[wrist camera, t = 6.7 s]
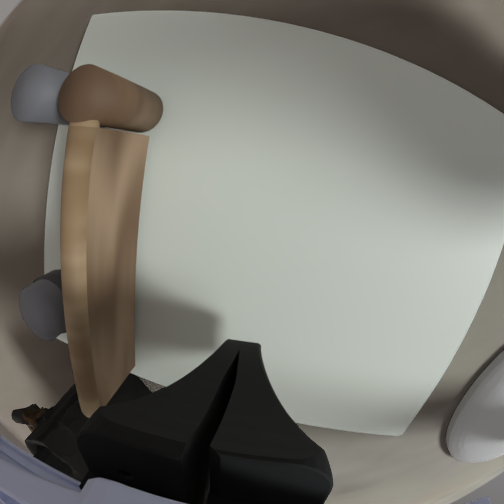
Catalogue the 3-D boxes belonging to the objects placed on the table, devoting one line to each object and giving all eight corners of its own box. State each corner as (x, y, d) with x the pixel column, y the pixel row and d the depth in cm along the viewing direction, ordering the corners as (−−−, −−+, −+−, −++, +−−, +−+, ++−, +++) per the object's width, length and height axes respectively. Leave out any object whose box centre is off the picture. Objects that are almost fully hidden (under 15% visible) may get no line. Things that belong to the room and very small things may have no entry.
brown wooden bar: (128, 90, 11) (65, 67, 7) (167, 91, 11) (111, 61, 7) (112, 364, 15) (71, 414, 10) (142, 374, 15) (105, 429, 10)
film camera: (46, 410, 19) (-16, 482, 10) (83, 325, 16) (-31, 428, 6) (214, 515, 21) (192, 598, 11) (311, 472, 17) (308, 595, 8)
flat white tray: (519, 132, 10) (595, 130, 5) (397, 427, 15) (418, 497, 10) (100, 19, 11) (33, -20, 6) (54, 327, 16) (-2, 373, 11)
